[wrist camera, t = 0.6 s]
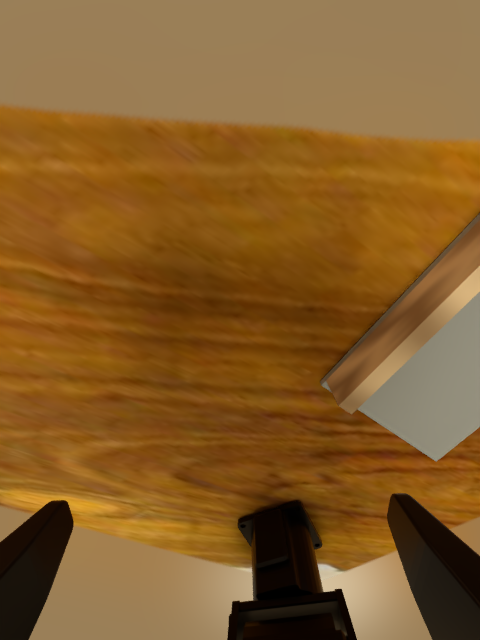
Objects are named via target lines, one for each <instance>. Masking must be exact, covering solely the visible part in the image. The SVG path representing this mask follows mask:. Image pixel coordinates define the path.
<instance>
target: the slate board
mask: <svg viewBox="0 0 480 640" xmlns="http://www.w3.org/2000/svg"><path fill="white" fill-rule="evenodd" d="M479 220H480V213H479V214H478V215H477V216H476V218H475V219H474V220H473V221H472V222H471V223H470V224H469V225H468V226H467V227H466V228H465V229H464V230H463V231H462V232H461V233H460V234H459V235H458V237H457V238H456V239H455V240H454V241H453V242H452V243H451V244H450V245H449V246H448V247H447V248H446V249H445V250H444V251H443V252H442V253H441V254H440V256H439V257H438V258H437V259H436V260H435V261H434V262H433V263H432V264H431V265H430V266H429V267H428V268H427V269H426V270H425V271H424V272H423V273H422V275H421V276H420V277H419V278H418V279H417V280H416V281H415V282H414V283H413V284H412V285H411V286H410V287H409V288H408V289H407V290H406V291H405V292H404V294H403V295H402V296H401V297H400V298H399V299H398V300H397V301H396V302H395V303H394V304H393V305H392V306H391V307H390V308H389V309H388V310H387V311H386V313H385V314H384V315H383V316H382V317H381V318H380V319H379V320H378V321H377V322H376V323H375V324H374V325H373V326H372V327H371V328H370V329H369V330H368V332H367V333H366V334H365V335H364V336H363V337H362V338H361V339H360V340H359V341H358V342H357V343H356V344H355V345H354V346H353V347H352V348H351V349H350V351H349V352H348V353H347V354H346V355H345V356H344V357H343V358H342V359H341V360H340V361H339V362H338V363H337V364H336V365H335V366H334V367H333V368H332V370H331V371H330V372H329V373H328V374H327V375H326V376H325V377H324V378H323V379H322V380H321V381H320V383H321V385H322V386H323V387H325V388H326V389H328V390H329V391H331V390H330V388H329V386H328V384H327V382H326V380H327V379H328V378H329V377H330V376H331V375H332V374H333V373H334V371H336V370H337V368H339V367H340V366H341V365H342V363H343V362H344V361H345V360H346V359H347V358H348V357H349V356H350V355H351V354H352V353H353V351H355V350H356V349H357V348H358V347H359V346H360V345H361V344H362V343H363V341H364V340H365V339H366V338H367V337H368V336H369V335H370V334H371V333H372V332H373V331H374V330H375V328H377V327H378V326H379V325H380V323H382V322H383V321H384V319H385V318H386V317H387V316H388V315H389V314H390V313H391V312H392V310H394V309H395V308H396V307H397V306H398V305H399V304H400V303H401V302H402V301H403V300H404V299H405V297H406V296H407V295H408V294H409V293H410V292H411V291H412V290H413V289H414V288H415V287H416V286H417V285H418V284H419V283H420V282H421V281H422V280H423V279H424V278H425V277H426V275H427V274H428V273H429V272H430V271H431V270H432V269H433V268H434V267H435V266H436V265H437V264H438V263H439V262H440V261H441V260H442V259H443V258H444V257H445V256H446V255H447V253H448V252H449V251H450V250H451V249H452V248H453V247H454V246H455V245H456V244H457V243H458V242H459V241H460V240H461V239H462V238H463V237H464V236H465V235H466V234H467V233H468V232H469V230H470V229H471V228H472V227H473V226H474V225H475V224H476V223H477V222H478V221H479ZM358 410H359V411H361V412H362V413H364V414H365V415H367V416H368V417H370V418H371V419H373V420H374V421H376V422H377V423H379V424H380V425H382V426H383V427H385V428H387V429H388V430H390V431H391V432H393V433H394V434H396V435H397V436H399V437H400V438H402V439H403V440H405V441H406V442H408V443H409V444H411V445H412V446H414V447H415V448H417V449H418V450H420V451H421V452H423V453H424V454H426V455H427V456H429V457H430V458H432V459H433V460H435V461H437V460H439V459H440V458H441V457H442V456H444V455H445V454H446V453H447V452H449V451H450V450H451V449H452V448H454V447H455V446H456V445H457V444H459V443H460V442H461V441H463V440H464V439H465V438H466V437H468V436H469V435H470V434H471V433H473V432H474V431H475V430H476V429H478V428H479V427H480V292H479V293H478V294H477V295H476V296H475V297H473V298H472V299H471V300H470V301H469V302H468V303H467V304H466V305H465V306H464V307H463V308H462V309H461V310H460V311H459V312H458V313H457V314H456V315H455V316H454V317H453V318H452V319H451V320H450V321H449V322H447V323H446V324H445V325H444V326H443V327H442V328H441V329H440V330H439V331H438V332H437V333H436V334H435V335H434V336H433V337H432V338H431V339H430V340H429V341H428V342H427V343H426V344H425V345H424V346H423V347H421V348H420V349H419V350H418V351H417V352H416V353H415V354H414V355H413V356H412V357H411V358H410V359H409V360H408V361H407V362H406V363H405V364H404V365H403V366H402V367H401V368H400V369H399V370H398V371H397V372H395V373H394V374H393V375H392V376H391V377H390V378H389V379H388V380H387V381H386V382H385V383H384V384H383V385H382V386H381V387H380V388H379V389H378V390H377V391H376V392H375V393H374V394H373V395H372V396H370V397H369V398H368V399H367V400H366V401H365V402H364V403H363V404H362V405H361V406H360V407H359V408H358Z"/></svg>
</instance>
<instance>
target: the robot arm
mask: <svg viewBox="0 0 480 640" xmlns="http://www.w3.org/2000/svg"><path fill="white" fill-rule="evenodd" d="M387 519H388V524H389V527H390V530H391V533H392V536H393V539H394V542H395V545H396V547H397V550H398V553H399V556H400V559H401V562H402V565H403V568H404V571H405V574H406V576H407V580H408V582H409V585H410V588H411V591H412V593H413V595H414V598H415V601H416V603H417V605H418V607H419V610H420V612H421V615H422V617H423V619H424V621H425V624H426V626H427V628H428V630H429V633H430V635H431V637H432V639H433V640H480V556H479V555H478V554H477V553H476V552H474V551H473V550H472V549H471V548H470V547H469V546H468V545H467V544H465V543H464V542H463V541H462V540H461V539H459V538H458V537H457V536H456V535H455V534H454V533H453V532H451V531H450V530H449V529H448V528H447V527H446V526H445V525H443V524H442V523H441V522H440V521H439V520H438V519H437V518H435V517H434V516H433V515H432V514H431V513H430V512H428V511H427V510H426V509H425V508H424V507H423V506H422V505H420V504H419V503H418V502H417V501H416V500H415V499H413V498H412V497H411V496H410V495H408V494H405V493H398V494H392V495H391V498H390V503H389V508H388V513H387ZM238 528H239V530H240V531H241V533H242V534H243V536H244V537H245V539H246V540H247V542H248V543H249V545H250V546H251V548H252V574H253V601H245V602H240V601H233V602H232V613H231V614H230V616H229V628H228V639H227V640H357V638H356V635H355V632H354V628H353V625H352V622H351V618H350V615H349V612H348V608H347V605H346V602H345V599H344V595H343V592H342V589H335V591H330V592H323V588H322V583H321V579H320V574H319V570H318V565H317V560H316V556H315V551H314V550H315V549H318V548H321V547H322V542H321V539H320V537H319V535H318V533H317V531H316V529H315V527H314V525H313V524H312V522H311V520H310V518H309V516H308V514H307V512H306V510H305V508H304V507H303V505H302V503H301V502H299V501H296V502H292V503H289V504H286V505H283V506H279V507H276V508H273V509H270V510H267V511H263V512H260V513H257V514H254V515H251V516H248V517H244V518H241V519H239V520H238ZM72 530H73V517H72V514H71V511H70V508H69V505H68V502H67V501H65V500H59V501H51V502H49V503H47V504H46V505H45V506H44V507H42V508H41V509H40V510H39V511H38V512H36V513H35V514H34V515H33V516H32V517H30V518H29V519H28V520H27V521H26V522H24V523H23V524H22V525H21V526H19V527H18V528H17V529H16V530H15V531H14V532H12V533H11V534H10V535H9V536H7V537H6V538H5V539H4V540H3V541H1V542H0V640H28V639H29V637H30V635H31V633H32V631H33V629H34V626H35V624H36V622H37V620H38V618H39V616H40V613H41V611H42V609H43V607H44V604H45V602H46V600H47V597H48V595H49V592H50V590H51V587H52V585H53V582H54V579H55V576H56V574H57V571H58V568H59V565H60V563H61V560H62V557H63V554H64V552H65V549H66V546H67V544H68V541H69V538H70V535H71V533H72Z"/></svg>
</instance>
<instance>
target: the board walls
mask: <svg viewBox="0 0 480 640" xmlns="http://www.w3.org/2000/svg"><path fill="white" fill-rule="evenodd" d="M479 292H480V220H479V221H478V222H477V223H476V224H475V225H474V226H473V227H472V228H471V229H470V230H469V232H468V233H467V234H466V235H465V236H464V237H463V238H462V239H461V240H460V241H459V242H458V243H457V244H456V245H455V246H454V247H453V248H452V249H451V250H450V251H449V252H448V253H447V255H446V256H445V257H444V258H443V259H442V260H441V261H440V262H439V263H438V264H437V265H436V266H435V267H434V268H433V269H432V270H431V271H430V272H429V273H428V274H427V275H426V277H425V278H424V279H423V280H422V281H421V282H420V283H419V284H418V285H417V286H416V287H415V288H414V289H413V290H412V291H411V292H410V293H409V294H408V295H407V296H406V297H405V299H404V300H403V301H402V302H401V303H400V304H399V305H398V306H397V307H396V308H395V309H394V310H392V312H391V313H390V314H389V315H388V316H387V317H386V318H385V319H384V321H383V322H382V323H380V325H379V326H378V327H377V328H375V330H374V331H373V332H372V333H371V334H370V335H369V336H368V337H367V338H366V339H365V340H364V341H363V343H362V344H361V345H360V346H359V347H358V348H357V349H356V350H355V351H353V353H352V354H351V355H350V356H349V357H348V358H347V359H346V360H345V361H344V362H343V363H342V365H341V366H340V367H339V368H337V370H336V371H334V373H333V374H332V375H331V376H330V377H329V378H328V379H327V380H326V382H327V384H328V386H329V388H330V390H331V392H332V394H333V396H334V398H335V400H336V402H337V404H338V406H340V407H341V408H343V409H344V410H346V411H347V412H349V413H350V414H353V413H354V412H355V411H356V410H357V409H358V408H359V407H360V406H361V405H362V404H363V403H364V402H365V401H366V400H367V399H368V398H369V397H370V396H372V395H373V394H374V393H375V392H376V391H377V390H378V389H379V388H380V387H381V386H382V385H383V384H384V383H385V382H386V381H387V380H388V379H389V378H390V377H391V376H392V375H393V374H394V373H395V372H397V371H398V370H399V369H400V368H401V367H402V366H403V365H404V364H405V363H406V362H407V361H408V360H409V359H410V358H411V357H412V356H413V355H414V354H415V353H416V352H417V351H418V350H419V349H420V348H421V347H423V346H424V345H425V344H426V343H427V342H428V341H429V340H430V339H431V338H432V337H433V336H434V335H435V334H436V333H437V332H438V331H439V330H440V329H441V328H442V327H443V326H444V325H445V324H446V323H447V322H449V321H450V320H451V319H452V318H453V317H454V316H455V315H456V314H457V313H458V312H459V311H460V310H461V309H462V308H463V307H464V306H465V305H466V304H467V303H468V302H469V301H470V300H471V299H472V298H473V297H475V296H476V295H477V294H478V293H479Z"/></svg>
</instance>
